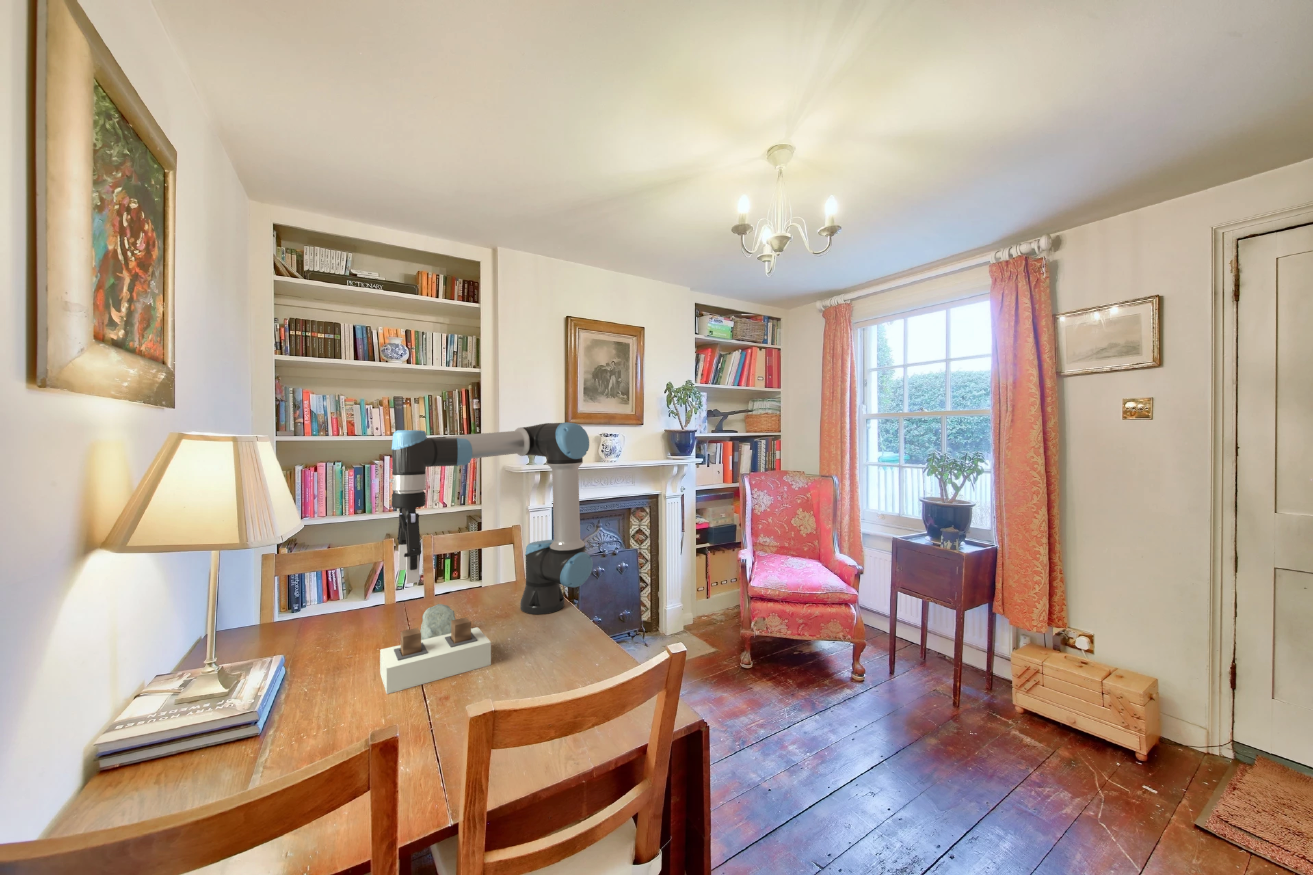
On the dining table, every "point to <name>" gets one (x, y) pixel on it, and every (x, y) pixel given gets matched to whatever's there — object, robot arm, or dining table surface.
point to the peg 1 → (410, 641)
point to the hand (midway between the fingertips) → (408, 575)
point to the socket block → (433, 660)
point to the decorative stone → (436, 621)
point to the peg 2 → (460, 630)
